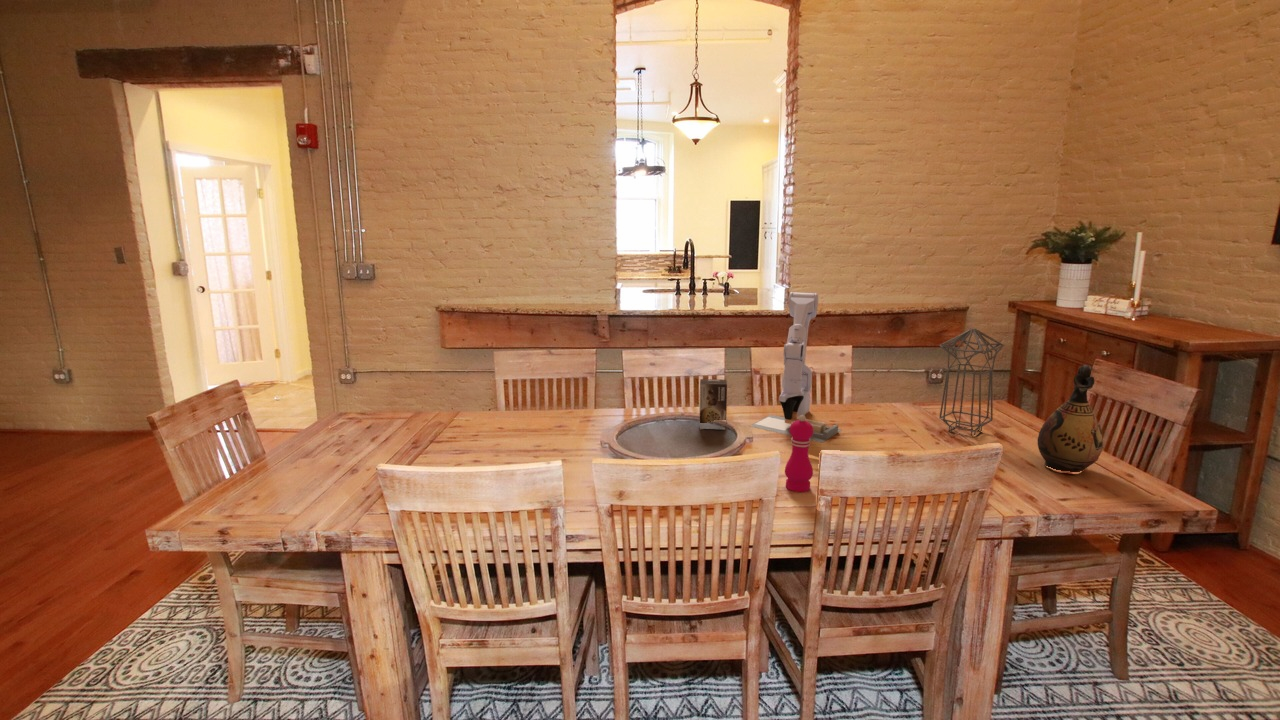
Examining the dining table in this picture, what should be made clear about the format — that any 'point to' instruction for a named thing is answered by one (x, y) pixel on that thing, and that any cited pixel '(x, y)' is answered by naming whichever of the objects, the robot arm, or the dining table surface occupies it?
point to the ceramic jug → (1072, 430)
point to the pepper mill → (799, 456)
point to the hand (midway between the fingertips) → (790, 417)
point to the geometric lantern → (963, 337)
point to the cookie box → (713, 400)
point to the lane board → (780, 426)
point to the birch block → (817, 426)
